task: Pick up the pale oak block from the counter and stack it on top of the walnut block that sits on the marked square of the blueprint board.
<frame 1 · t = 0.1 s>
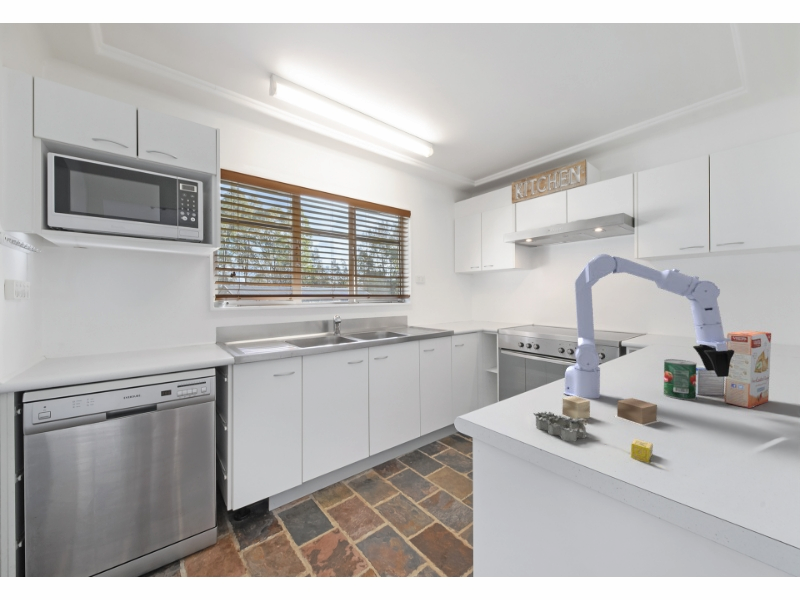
hand: (716, 373, 93), 11 cm above the counter, tool pointing down, fingers open, 7 cm apart
alphabet block: (641, 459, 67), on the counter
cracker box: (747, 403, 101), on the counter
oak block: (575, 418, 88), on the counter
egg carton: (559, 433, 80), on the counter
walnut block: (636, 418, 86), point 1 cm above the counter, touching blueprint board
medicine box: (705, 394, 110), on the counter
blueprint board: (632, 419, 87), on the counter
canned tomato: (679, 396, 107), on the counter
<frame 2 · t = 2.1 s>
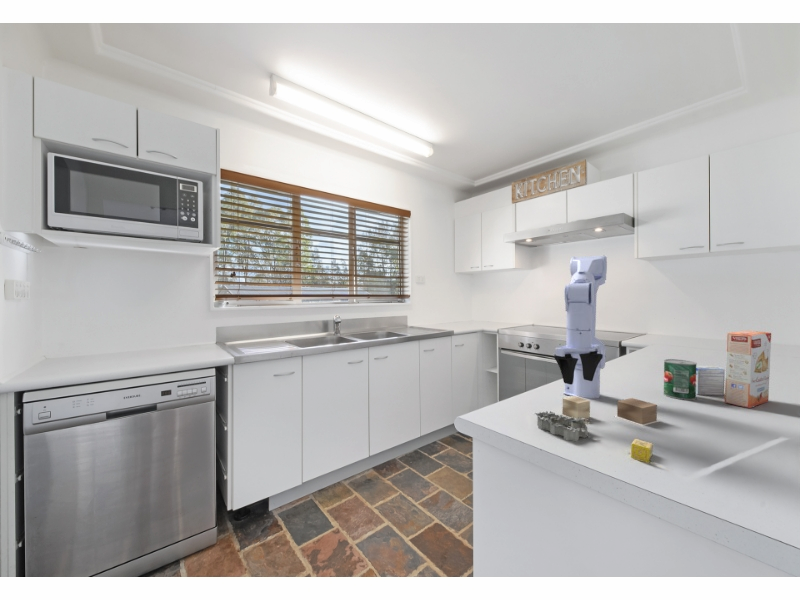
hand: (578, 381, 88), 9 cm above the counter, tool pointing down, fingers open, 7 cm apart
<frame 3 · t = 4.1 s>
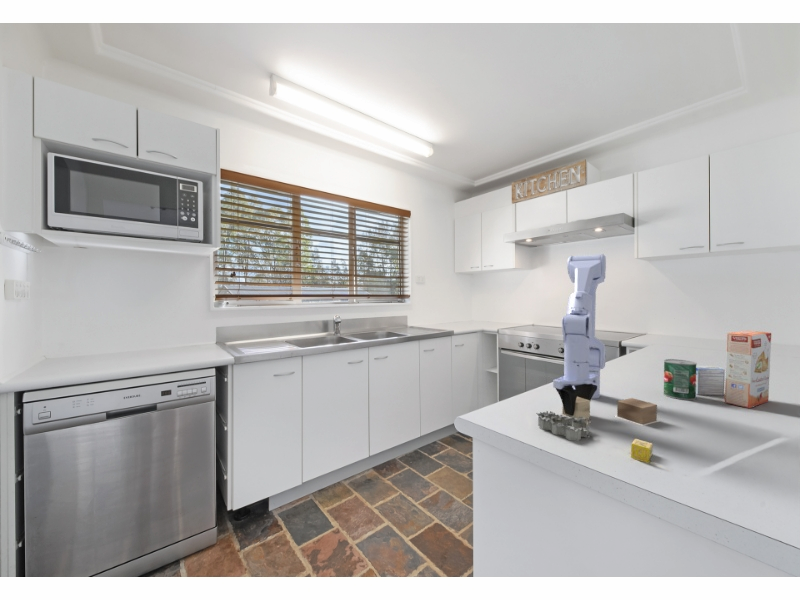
hand: (576, 412, 88), 1 cm above the counter, tool pointing down, fingers closed on oak block, 4 cm apart
oak block: (575, 418, 88), on the counter, touching gripper
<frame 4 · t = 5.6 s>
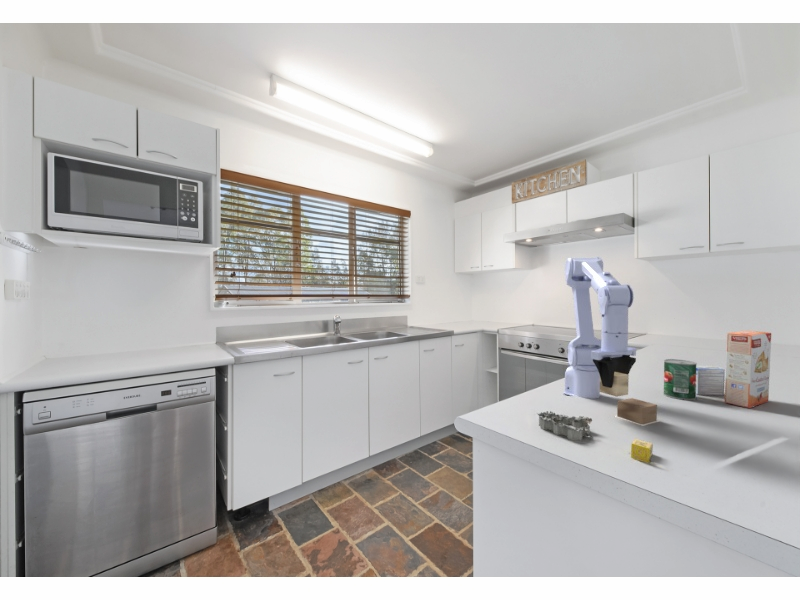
hand: (613, 385, 87), 9 cm above the counter, tool pointing down, fingers closed on oak block, 4 cm apart
oak block: (613, 393, 87), point 7 cm above the counter, touching gripper
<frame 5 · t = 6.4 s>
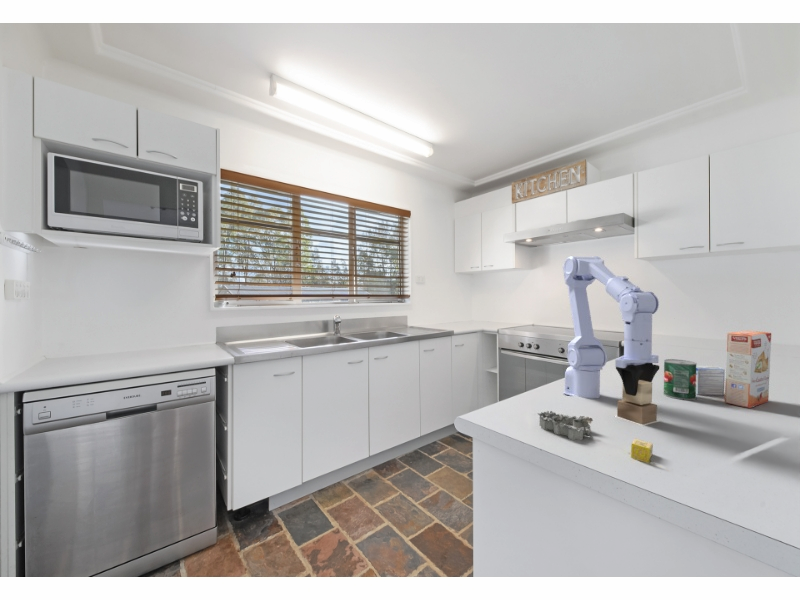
hand: (637, 393, 86), 7 cm above the counter, tool pointing down, fingers closed on oak block, 4 cm apart
oak block: (636, 401, 86), point 5 cm above the counter, touching gripper
when the fingers open (7 cm above the counter, at t = 7.2 s): oak block stays where it is, resting on walnut block.
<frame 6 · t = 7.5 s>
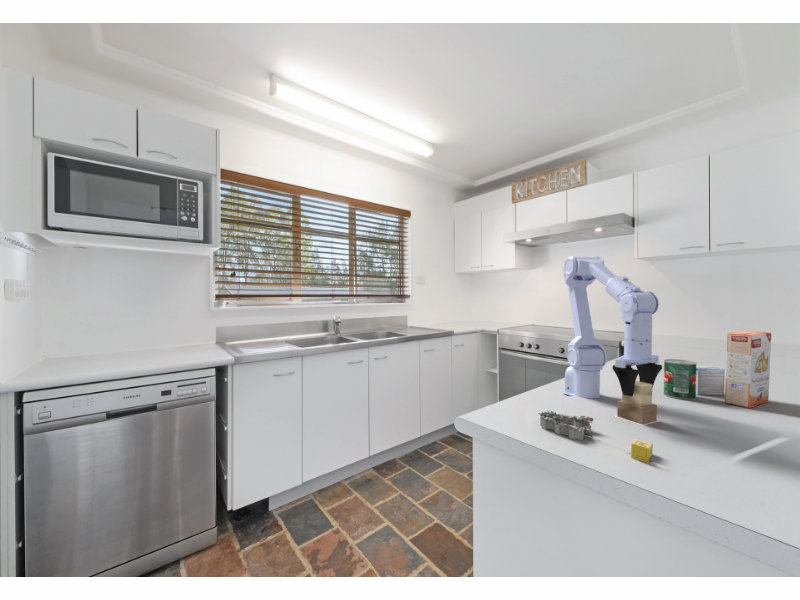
hand: (637, 393, 86), 7 cm above the counter, tool pointing down, fingers open, 7 cm apart
oak block: (636, 402, 86), point 5 cm above the counter, touching walnut block
walnut block: (636, 418, 86), point 1 cm above the counter, touching blueprint board, oak block
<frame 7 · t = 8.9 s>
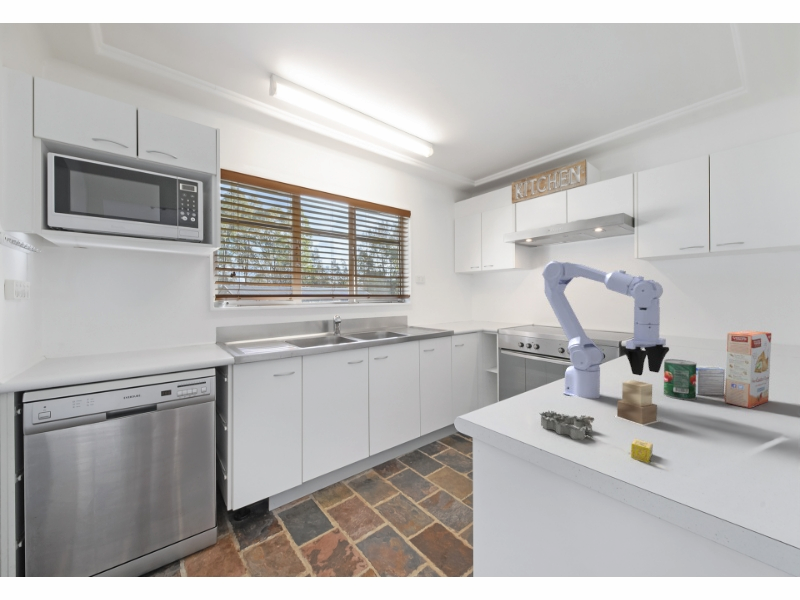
hand: (645, 373, 94), 10 cm above the counter, tool pointing down, fingers open, 7 cm apart
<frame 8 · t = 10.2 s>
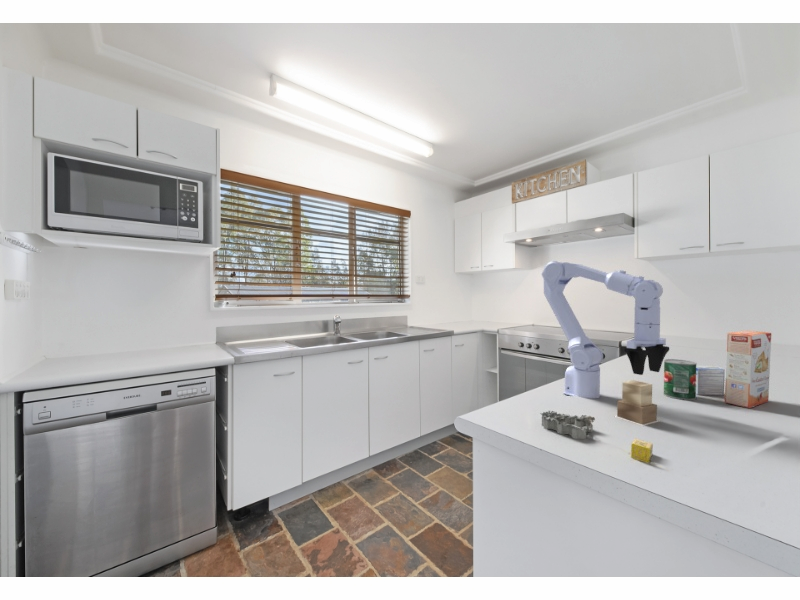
hand: (646, 372, 94), 10 cm above the counter, tool pointing down, fingers open, 7 cm apart
at the end: oak block 0.0 cm off-centre on the walnut block, point 4.0 cm above the walnut block's base; oak block point 4.7 cm above the counter; the gripper is holding nothing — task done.
